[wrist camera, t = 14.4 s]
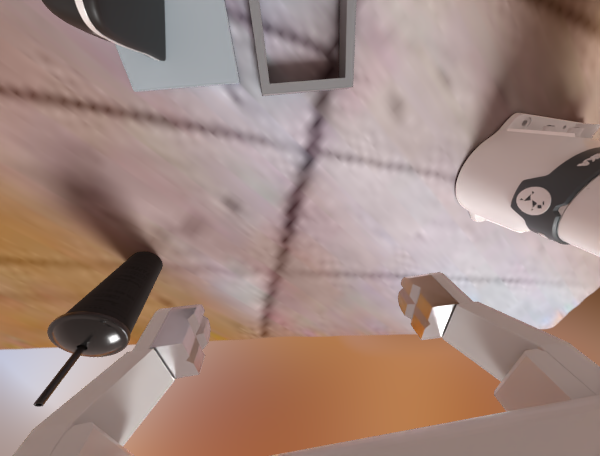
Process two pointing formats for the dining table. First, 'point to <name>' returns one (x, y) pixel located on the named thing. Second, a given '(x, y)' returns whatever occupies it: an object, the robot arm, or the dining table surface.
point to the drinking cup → (104, 315)
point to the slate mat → (187, 49)
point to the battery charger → (118, 22)
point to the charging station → (342, 82)
